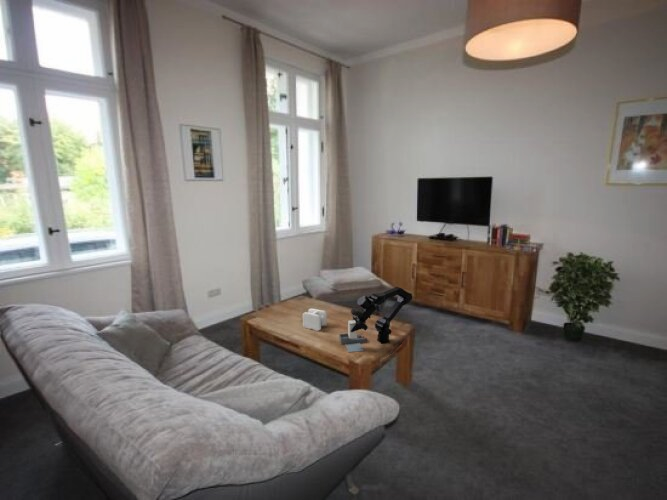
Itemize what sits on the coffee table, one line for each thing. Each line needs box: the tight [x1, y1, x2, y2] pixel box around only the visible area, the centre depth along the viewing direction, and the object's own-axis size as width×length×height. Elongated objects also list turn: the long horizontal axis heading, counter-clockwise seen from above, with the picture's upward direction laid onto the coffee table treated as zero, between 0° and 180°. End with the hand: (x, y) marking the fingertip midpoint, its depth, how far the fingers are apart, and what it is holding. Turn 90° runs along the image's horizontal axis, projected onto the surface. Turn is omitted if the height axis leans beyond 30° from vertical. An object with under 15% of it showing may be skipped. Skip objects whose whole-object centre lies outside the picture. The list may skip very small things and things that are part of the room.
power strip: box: [338, 333, 367, 346], centre depth 227 cm, size 16×7×4 cm, turn 100°
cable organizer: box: [302, 308, 328, 332], centre depth 248 cm, size 15×11×12 cm
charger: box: [347, 319, 358, 339], centre depth 216 cm, size 4×4×10 cm
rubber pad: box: [344, 343, 365, 353], centre depth 219 cm, size 10×10×1 cm
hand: (350, 330), depth 216 cm, fingers closed on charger, 4 cm apart
